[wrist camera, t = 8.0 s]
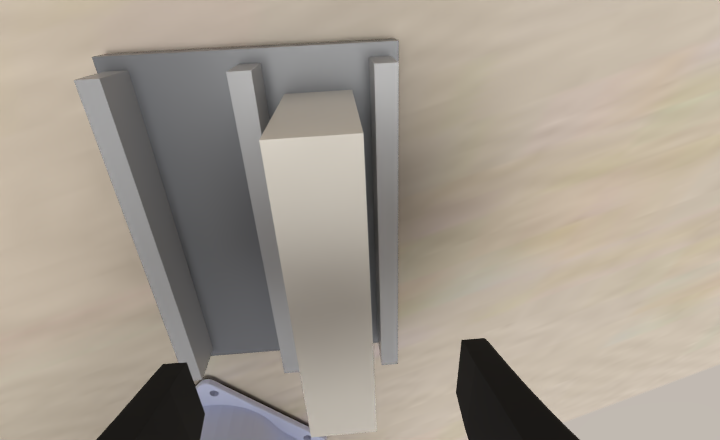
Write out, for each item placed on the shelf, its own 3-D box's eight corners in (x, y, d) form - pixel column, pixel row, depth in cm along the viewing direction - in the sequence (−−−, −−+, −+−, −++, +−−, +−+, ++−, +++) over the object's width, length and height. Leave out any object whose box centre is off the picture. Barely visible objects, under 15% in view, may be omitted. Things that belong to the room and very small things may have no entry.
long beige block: (365, 324, 21) (376, 431, 16) (316, 328, 21) (311, 437, 15) (352, 89, 15) (363, 132, 10) (284, 94, 15) (258, 140, 10)
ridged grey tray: (395, 327, 22) (403, 370, 20) (199, 343, 22) (182, 388, 19) (394, 38, 15) (407, 45, 13) (106, 54, 15) (57, 64, 12)
